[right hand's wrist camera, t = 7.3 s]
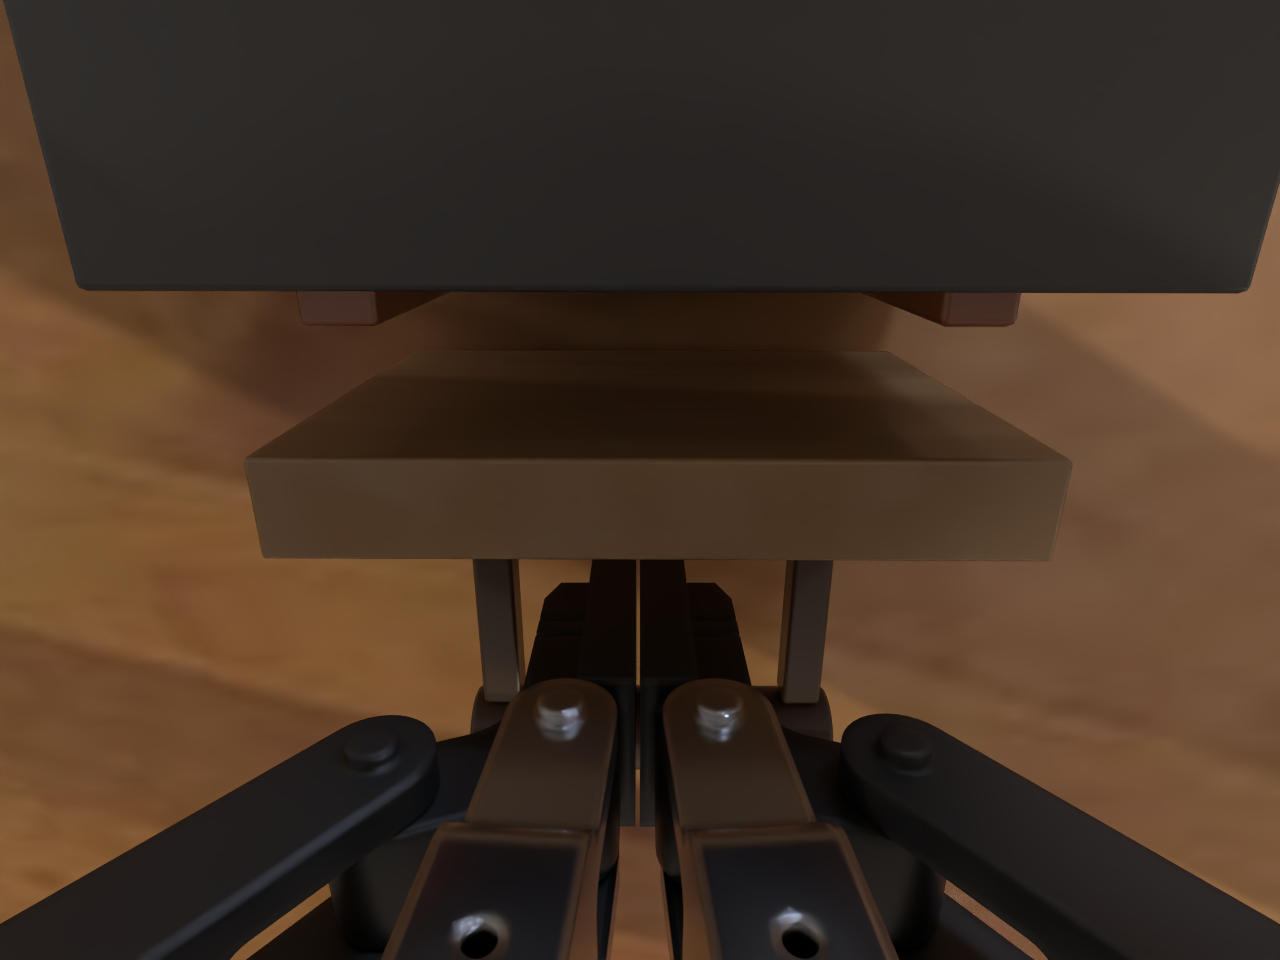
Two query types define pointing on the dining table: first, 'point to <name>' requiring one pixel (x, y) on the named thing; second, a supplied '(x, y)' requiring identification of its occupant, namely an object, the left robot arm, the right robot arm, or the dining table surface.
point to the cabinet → (658, 143)
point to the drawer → (657, 472)
